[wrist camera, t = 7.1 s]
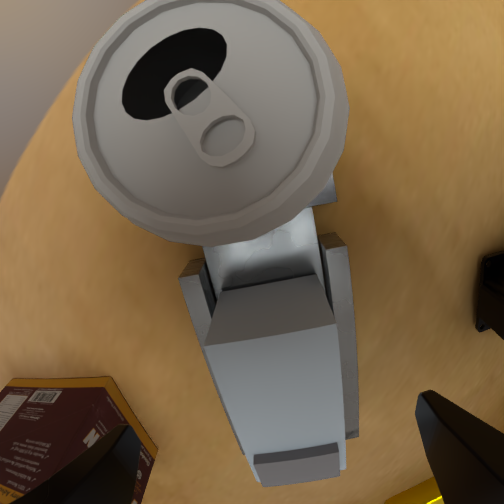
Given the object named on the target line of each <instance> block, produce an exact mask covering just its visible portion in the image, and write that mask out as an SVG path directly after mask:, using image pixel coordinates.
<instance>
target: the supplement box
mask: <svg viewBox="0 0 504 504" xmlns="http://www.w3.org/2000/svg"><path fill="white" fill-rule="evenodd" d="M118 424H129V425H131V426H132V427H133V429H134V430H135V432H136V434H137V435H138V437H139V439H140V441H141V451H140V459H139V466H138V474H137V480H136V486H135V490H134V494H133V498H132V502H131V504H141V502H142V498H143V495H144V492H145V489H146V486H147V483H148V479H149V476H150V473H151V470H152V467H153V464H154V461H155V458H156V455H157V452H158V449H157V448H156V447H155V445H154V444H153V442H152V441H151V439H150V438H149V437H148V435H147V434H146V432H145V431H144V429H143V428H142V426H141V425H140V423H139V422H138V420H137V418H136V417H135V415H134V414H133V412H132V411H131V409H130V407H129V406H128V404H127V403H126V401H125V399H124V398H123V396H122V394H121V393H120V391H119V389H118V388H117V386H116V384H115V383H114V381H113V379H112V378H111V377H96V378H73V379H12V380H11V381H10V382H9V383H8V384H7V385H6V386H5V387H4V389H3V390H2V391H1V392H0V504H9V503H11V502H12V501H14V500H16V499H18V498H20V497H21V496H23V495H25V494H26V493H28V492H30V491H31V490H33V489H34V488H36V487H37V486H38V485H40V484H41V483H43V482H44V481H45V480H47V479H49V478H50V477H51V476H52V475H54V474H55V473H56V472H58V471H59V470H60V469H62V468H63V467H64V466H66V465H67V464H68V463H70V462H71V461H72V460H74V459H75V458H76V457H77V456H79V455H80V454H81V453H83V452H84V451H85V450H86V449H88V448H89V447H90V446H92V445H93V444H94V443H95V442H97V441H98V440H99V439H101V438H102V437H103V436H104V435H106V434H107V433H108V432H109V431H111V430H112V429H113V428H114V427H116V426H117V425H118Z"/></svg>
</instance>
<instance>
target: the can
mask: <svg viewBox="0 0 504 504" xmlns="http://www.w3.org/2000/svg"><path fill="white" fill-rule="evenodd" d="M348 116H349V103H348V98H347V93H346V88H345V83H344V79H343V74H342V70H341V66H340V64H339V63H338V61H337V59H336V58H335V56H334V54H333V53H332V51H331V50H330V48H329V46H328V45H327V43H326V42H325V40H324V39H323V37H322V35H321V34H320V32H319V31H318V30H317V29H315V28H314V27H313V26H312V25H311V24H309V23H308V22H307V21H306V20H304V19H303V18H302V17H301V16H299V15H298V14H297V13H296V12H294V11H293V10H292V9H290V8H289V7H288V6H286V5H285V4H284V3H282V2H281V1H280V0H145V1H144V2H142V3H140V4H139V5H137V6H136V7H134V8H132V9H131V10H129V11H128V12H126V13H125V14H123V15H122V16H121V17H120V18H119V19H118V20H117V21H116V22H115V23H114V24H113V25H112V26H111V27H110V28H109V30H108V31H107V32H106V33H105V34H104V35H103V36H102V37H101V39H100V40H99V41H98V42H97V43H96V44H95V46H94V48H93V50H92V52H91V54H90V56H89V58H88V60H87V62H86V64H85V66H84V68H83V70H82V73H81V75H80V77H79V79H78V83H77V88H76V95H75V101H74V108H73V116H72V121H73V128H74V135H75V141H76V147H77V153H78V156H79V159H80V161H81V163H82V165H83V167H84V168H85V170H86V172H87V174H88V176H89V178H90V180H91V182H92V184H93V186H94V188H95V189H96V190H97V191H98V192H99V193H100V194H101V195H102V196H103V197H104V198H105V199H106V200H107V201H108V202H109V203H110V204H111V205H112V206H113V207H114V208H115V209H116V210H117V211H118V212H119V213H120V214H121V215H122V216H124V217H126V218H128V219H129V220H130V221H131V222H132V223H133V224H135V225H137V226H139V227H141V228H143V229H145V230H147V231H149V232H151V233H153V234H155V235H157V236H159V237H161V238H164V239H166V240H168V241H171V242H178V243H185V244H192V245H199V246H206V247H214V246H220V245H226V244H232V243H238V242H244V241H250V240H254V239H256V238H258V237H260V236H262V235H264V234H266V233H268V232H270V231H272V230H274V229H276V228H278V227H280V226H282V225H284V224H286V223H288V222H290V221H292V220H293V219H294V218H295V217H296V216H297V215H298V214H299V213H300V212H301V211H302V210H303V209H304V208H305V207H306V206H307V205H308V204H309V203H310V202H311V201H312V200H313V199H314V198H315V197H316V196H317V195H318V194H319V193H320V192H321V191H322V190H323V189H324V188H325V186H326V184H327V182H328V180H329V178H330V176H331V174H332V172H333V170H334V168H335V166H336V164H337V162H338V160H339V158H340V156H341V154H342V152H343V150H344V144H345V138H346V131H347V123H348Z"/></svg>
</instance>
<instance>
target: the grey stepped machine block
mask: <svg viewBox="0 0 504 504" xmlns="http://www.w3.org/2000/svg"><path fill="white" fill-rule="evenodd" d="M204 349H205V352H206V354H207V357H208V360H209V363H210V366H211V368H212V371H213V374H214V377H215V379H216V382H217V385H218V387H219V390H220V393H221V395H222V398H223V401H224V403H225V406H226V408H227V411H228V414H229V416H230V419H231V421H232V424H233V426H234V429H235V431H236V434H237V436H238V438H239V441H240V443H241V446H242V448H243V450H244V453H245V455H246V457H247V460H248V462H249V464H250V467H251V469H252V471H253V474H254V476H255V478H256V480H257V482H261V484H262V486H263V487H270V486H280V485H289V484H296V483H303V482H310V481H316V480H322V479H328V478H333V477H338V476H340V470H343V469H346V446H345V422H344V404H343V388H342V375H341V363H340V351H339V341H338V331H337V323H336V320H335V318H334V315H333V313H332V310H331V308H330V305H329V303H328V300H327V298H326V295H325V293H324V290H323V288H322V286H321V283H320V281H319V278H318V276H317V274H314V275H309V276H304V277H299V278H294V279H289V280H283V281H278V282H273V283H268V284H262V285H257V286H251V287H246V288H240V289H235V290H229V291H224V292H220V294H219V297H218V301H217V304H216V307H215V310H214V314H213V317H212V320H211V324H210V327H209V330H208V333H207V337H206V340H205V343H204Z"/></svg>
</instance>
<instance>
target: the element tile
mask: <svg viewBox="0 0 504 504" xmlns="http://www.w3.org/2000/svg"><path fill="white" fill-rule="evenodd" d="M384 504H444V501H443V499H442V496H441V493H440V491H439V488H438V485H437V483H436V480H435V477H432V478H430V479H428V480H426V481H424V482H422V483H420V484H418V485H416V486H414V487H412V488H410V489H408V490H406V491H403V492H401V493H399V494H397V495H395V496H393V497H391V498H389V499H388V500H386V501H385V503H384Z"/></svg>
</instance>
